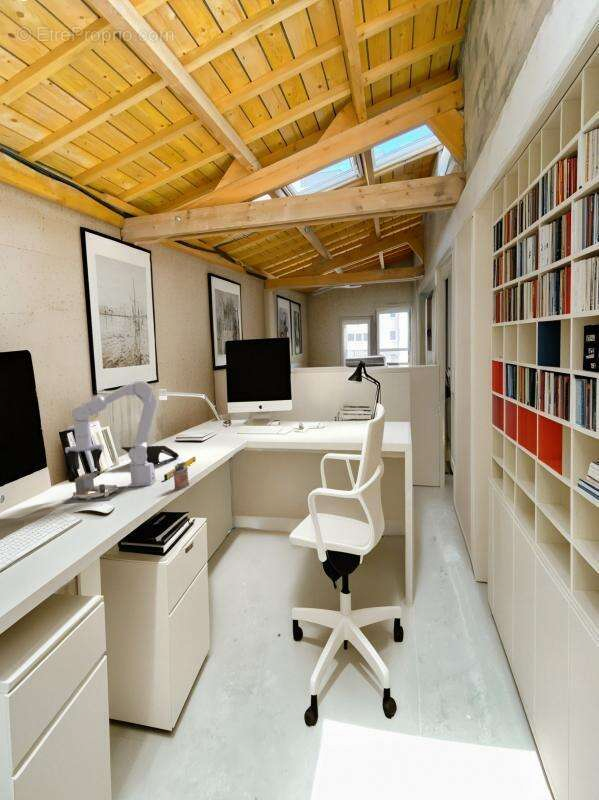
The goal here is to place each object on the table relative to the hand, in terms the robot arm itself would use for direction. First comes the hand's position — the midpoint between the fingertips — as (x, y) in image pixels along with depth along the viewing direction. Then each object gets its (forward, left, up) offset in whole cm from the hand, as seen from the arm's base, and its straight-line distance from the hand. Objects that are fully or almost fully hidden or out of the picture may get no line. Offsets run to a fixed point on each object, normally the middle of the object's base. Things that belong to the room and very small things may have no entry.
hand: (87, 468), depth 185 cm
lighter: (-38, +1, -11) cm, 39 cm away
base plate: (-4, +3, -10) cm, 11 cm away
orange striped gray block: (0, +3, -8) cm, 9 cm away
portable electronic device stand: (-11, -51, -11) cm, 53 cm away
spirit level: (-31, -28, -11) cm, 43 cm away
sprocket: (-4, +3, -10) cm, 11 cm away
